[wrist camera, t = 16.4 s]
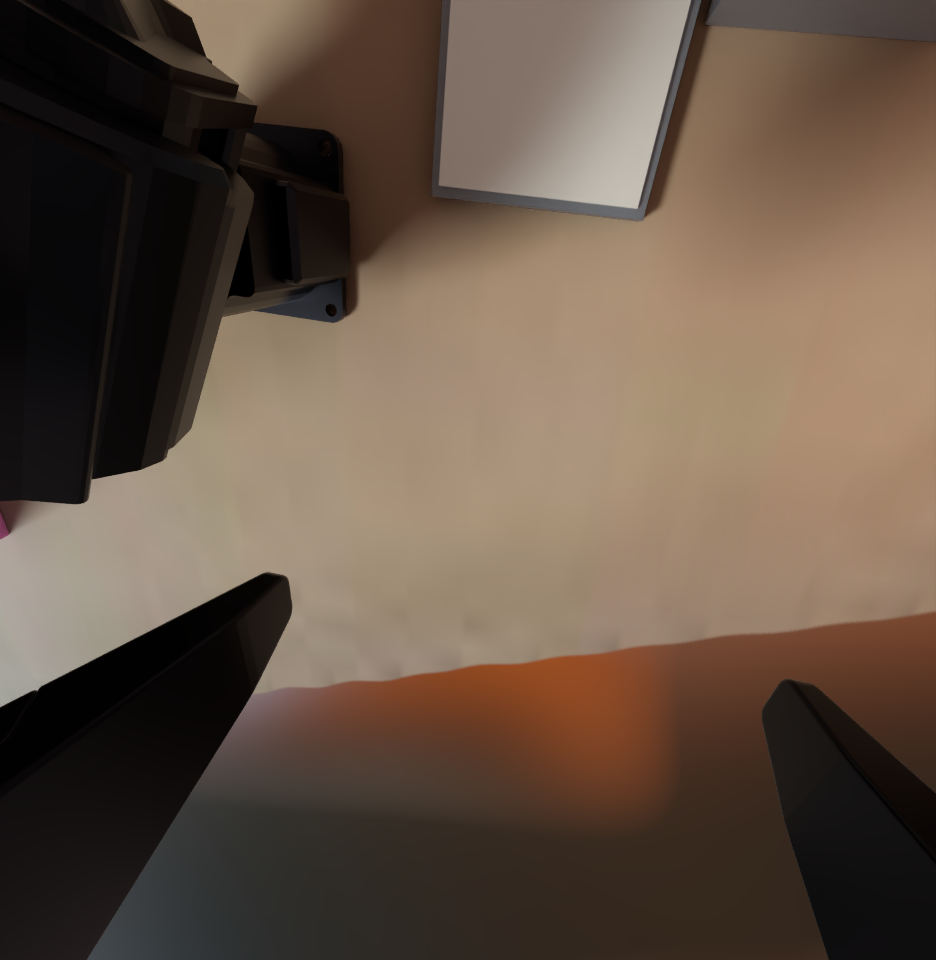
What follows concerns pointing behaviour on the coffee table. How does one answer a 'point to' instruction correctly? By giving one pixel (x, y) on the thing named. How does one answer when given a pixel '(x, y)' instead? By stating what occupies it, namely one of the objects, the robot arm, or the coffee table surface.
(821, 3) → the dome base
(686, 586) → the coffee table surface
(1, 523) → the gum box
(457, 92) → the game board
